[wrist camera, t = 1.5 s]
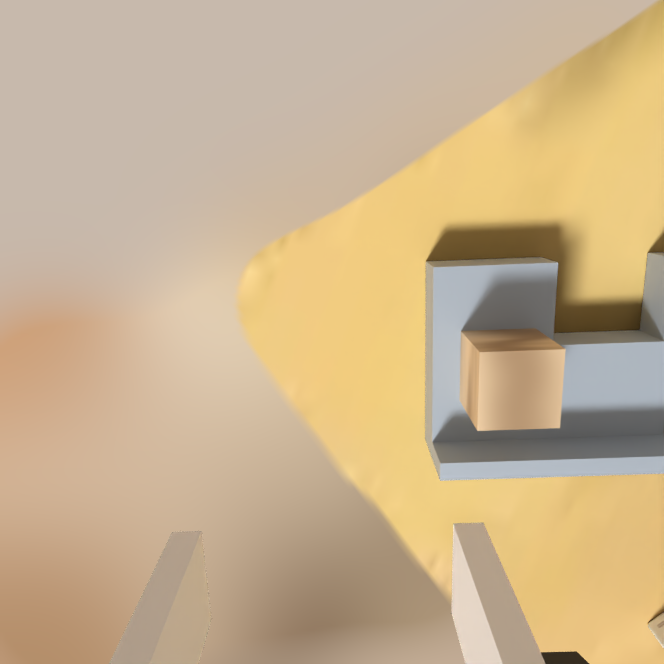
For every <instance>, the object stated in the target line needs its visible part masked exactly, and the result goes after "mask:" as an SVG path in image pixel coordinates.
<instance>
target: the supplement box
mask: <svg viewBox="0 0 664 664" xmlns="http://www.w3.org/2000/svg"><path fill="white" fill-rule="evenodd" d="M648 627H649V629H650V630H651V632H652V633H653V634H654V636H655V637H656V638H657V640H658V641H659V643H660V644H661V645H662V647H663V648H664V612H663V613H662V614H660V615H659V616H658V617H656V618H655V619H653V620H652V621H651V622H649V624H648Z"/></svg>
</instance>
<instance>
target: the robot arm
mask: <svg viewBox="0 0 664 664" xmlns="http://www.w3.org/2000/svg"><path fill="white" fill-rule="evenodd" d="M452 616H453V620H454V623H455V627H456V631H457V634H458V638H459V642H460V645H461V649H462V652H463V656H464V660H465V664H589V663H588V662H587V661H586V660H585V659H584V658H583V657H582V656H581V655H580V654H579V653H577V652H542V653H541V652H540V650H539V648H538V645H537V643H536V641H535V639H534V636H533V634H532V632H531V630H530V627H529V625H528V623H527V621H526V618H525V616H524V614H523V612H522V609H521V607H520V605H519V603H518V600H517V598H516V596H515V593H514V591H513V589H512V587H511V584H510V582H509V580H508V578H507V575H506V573H505V571H504V569H503V566H502V564H501V562H500V560H499V557H498V555H497V553H496V551H495V548H494V546H493V544H492V541H491V539H490V537H489V535H488V532H487V530H486V528H485V526H484V523H457V524H453V571H452ZM210 623H211V611H210V602H209V593H208V585H207V576H206V568H205V559H204V549H203V541H202V532H201V531H195V532H172V534H171V536H170V538H169V540H168V542H167V544H166V546H165V548H164V550H163V552H162V554H161V556H160V559H159V561H158V563H157V565H156V567H155V569H154V571H153V573H152V575H151V578H150V580H149V582H148V584H147V586H146V588H145V590H144V592H143V595H142V596H141V598H140V600H139V603H138V605H137V607H136V609H135V611H134V613H133V615H132V617H131V619H130V621H129V623H128V625H127V628H126V630H125V632H124V634H123V636H122V638H121V640H120V642H119V644H118V646H117V648H116V650H115V653H114V655H113V657H112V659H111V661H110V663H109V664H199V661H200V658H201V654H202V651H203V647H204V644H205V640H206V637H207V634H208V630H209V627H210Z"/></svg>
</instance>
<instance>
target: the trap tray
mask: <svg viewBox="0 0 664 664" xmlns="http://www.w3.org/2000/svg"><path fill="white" fill-rule="evenodd" d="M557 275H558V262H555V261H552V260H549V259H546V258H543V257H524V258H498V259H472V260H446V261H426V361H425V440H426V443H427V445H428V448H429V451H430V454H431V457H432V459H433V462H434V465H435V468H436V471H437V473H438V476H439V479H440V481H442V480H473V479H505V478H537V477H568V476H600V475H632V474H663V473H664V252H655V253H648V256H647V265H646V275H645V284H644V294H643V303H642V312H641V322H640V330H624V331H596V332H569V333H554V321H555V306H556V290H557ZM527 328H536V329H537V330H539V331H540V332H542V333H543V334H544V335H546V336H547V337H549V338H550V339H552V340H553V341H555V342H556V343H557V344H559V345H560V346H562V347H563V348H565V349H566V351H565V365H564V379H563V393H562V407H561V421H560V428H549V429H519V430H489V431H477V429H476V428H475V426H474V424H473V423H472V421H471V419H470V417H469V416H468V414H467V412H466V411H465V409H464V407H463V405H462V404H461V402H460V400H459V397H460V348H461V331H472V330H500V329H527Z"/></svg>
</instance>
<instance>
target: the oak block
mask: <svg viewBox="0 0 664 664" xmlns="http://www.w3.org/2000/svg"><path fill="white" fill-rule="evenodd" d="M565 351H566V349H565V348H563V347H562V346H560V345H559V344H557V343H556V342H555V341H553V340H552V339H550V338H549V337H547V336H546V335H544V334H543V333H542V332H540V331H539V330H537V329H536V328H527V329H500V330H472V331H461V348H460V397H459V400H460V402H461V404H462V405H463V407H464V409H465V411H466V412H467V414H468V416H469V417H470V419H471V421H472V423H473V424H474V426H475V428H476V429H477V431H489V430H519V429H549V428H560V421H561V407H562V393H563V379H564V365H565Z"/></svg>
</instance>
